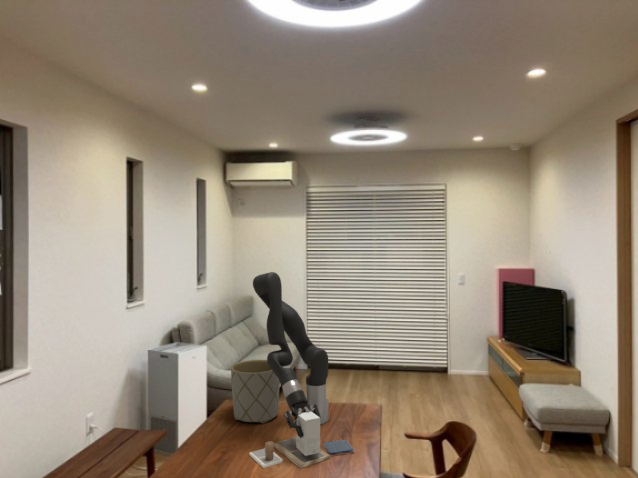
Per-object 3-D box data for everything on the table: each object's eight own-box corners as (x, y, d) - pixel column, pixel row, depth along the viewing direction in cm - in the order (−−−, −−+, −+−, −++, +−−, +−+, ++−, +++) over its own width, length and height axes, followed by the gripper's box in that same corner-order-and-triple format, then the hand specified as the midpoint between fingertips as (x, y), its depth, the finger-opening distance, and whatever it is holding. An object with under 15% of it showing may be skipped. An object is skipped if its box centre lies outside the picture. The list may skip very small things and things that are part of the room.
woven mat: (346, 442, 187) (346, 437, 187) (355, 454, 177) (355, 449, 177) (321, 446, 184) (321, 441, 184) (329, 458, 174) (329, 453, 174)
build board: (301, 438, 191) (301, 435, 191) (329, 458, 173) (329, 454, 173) (273, 446, 183) (273, 443, 183) (300, 468, 166) (300, 464, 166)
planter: (222, 423, 207) (221, 371, 207) (244, 405, 229) (244, 358, 229) (269, 428, 201) (268, 374, 201) (287, 409, 223) (287, 361, 222)
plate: (268, 449, 181) (267, 431, 180) (282, 462, 170) (282, 443, 170) (249, 455, 176) (249, 436, 176) (263, 468, 166) (263, 448, 166)
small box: (320, 452, 171) (320, 417, 171) (305, 456, 168) (305, 420, 168) (310, 444, 178) (311, 410, 178) (295, 447, 175) (296, 413, 175)
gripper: (281, 392, 175) (297, 434, 166) (313, 386, 184) (330, 425, 174) (275, 402, 180) (290, 443, 170) (305, 395, 188) (322, 434, 178)
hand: (310, 434), depth 172 cm, fingers closed on small box, 6 cm apart
